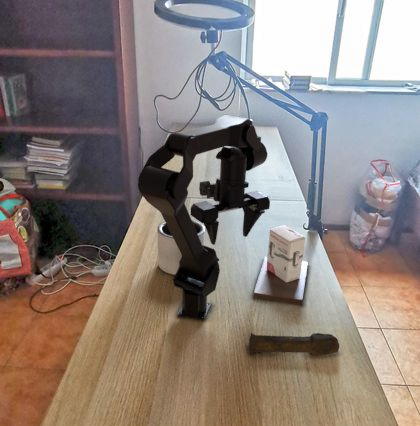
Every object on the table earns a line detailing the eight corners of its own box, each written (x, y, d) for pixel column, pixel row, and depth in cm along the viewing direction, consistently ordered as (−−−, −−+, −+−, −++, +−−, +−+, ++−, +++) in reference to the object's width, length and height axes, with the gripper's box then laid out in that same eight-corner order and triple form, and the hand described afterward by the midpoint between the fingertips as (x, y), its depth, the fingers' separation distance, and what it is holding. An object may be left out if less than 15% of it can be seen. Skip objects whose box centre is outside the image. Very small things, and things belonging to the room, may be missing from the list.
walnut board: (301, 305, 119) (302, 299, 118) (253, 297, 121) (253, 292, 120) (307, 266, 135) (308, 261, 134) (264, 260, 137) (264, 255, 136)
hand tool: (248, 356, 102) (250, 339, 99) (248, 344, 105) (250, 327, 102) (339, 362, 101) (343, 344, 99) (336, 349, 105) (340, 332, 102)
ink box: (264, 269, 130) (269, 227, 123) (279, 264, 132) (284, 223, 125) (285, 283, 124) (291, 241, 117) (300, 278, 126) (307, 236, 119)
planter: (180, 282, 125) (180, 243, 119) (148, 265, 132) (146, 227, 126) (213, 266, 133) (215, 228, 127) (182, 250, 140) (182, 214, 134)
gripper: (246, 160, 118) (242, 220, 127) (178, 171, 110) (179, 235, 119) (274, 174, 110) (267, 237, 119) (204, 187, 102) (202, 253, 111)
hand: (229, 240), depth 117 cm, fingers open, 9 cm apart
